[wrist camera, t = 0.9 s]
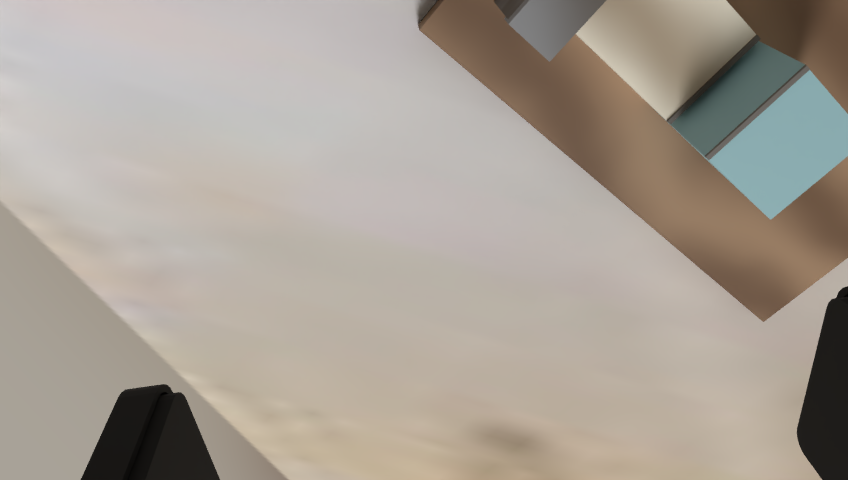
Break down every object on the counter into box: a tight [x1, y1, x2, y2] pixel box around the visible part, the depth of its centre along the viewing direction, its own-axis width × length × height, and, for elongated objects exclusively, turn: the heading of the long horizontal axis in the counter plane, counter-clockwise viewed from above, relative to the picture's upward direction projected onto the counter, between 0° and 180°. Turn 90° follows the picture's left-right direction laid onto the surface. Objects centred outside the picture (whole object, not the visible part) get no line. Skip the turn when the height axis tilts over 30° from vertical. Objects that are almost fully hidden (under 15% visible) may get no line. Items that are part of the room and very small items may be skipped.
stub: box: [656, 41, 848, 220], centre depth 30 cm, size 5×5×6 cm
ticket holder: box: [418, 0, 848, 322], centre depth 32 cm, size 14×28×5 cm, turn 50°
